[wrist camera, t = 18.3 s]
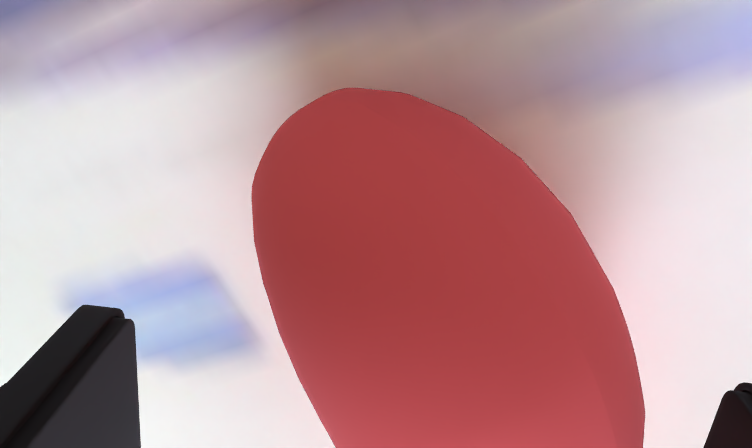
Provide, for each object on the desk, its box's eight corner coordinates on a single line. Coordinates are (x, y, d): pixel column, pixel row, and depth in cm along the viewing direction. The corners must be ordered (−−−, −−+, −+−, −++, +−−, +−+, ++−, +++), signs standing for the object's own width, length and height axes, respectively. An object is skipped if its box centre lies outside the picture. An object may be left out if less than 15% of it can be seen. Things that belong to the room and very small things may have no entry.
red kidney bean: (629, 73, 12) (537, -4, 6) (689, 552, 12) (650, 873, 7) (384, 124, 15) (169, 100, 9) (436, 519, 15) (257, 732, 9)
